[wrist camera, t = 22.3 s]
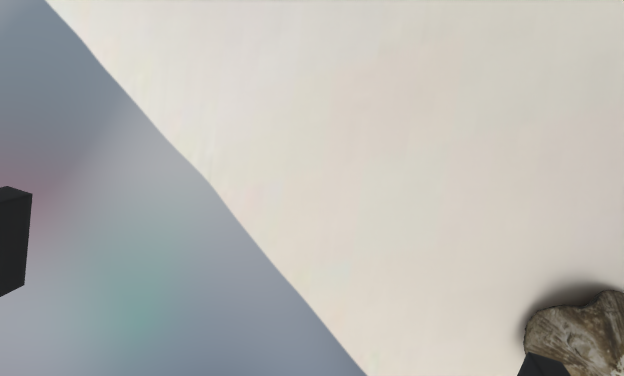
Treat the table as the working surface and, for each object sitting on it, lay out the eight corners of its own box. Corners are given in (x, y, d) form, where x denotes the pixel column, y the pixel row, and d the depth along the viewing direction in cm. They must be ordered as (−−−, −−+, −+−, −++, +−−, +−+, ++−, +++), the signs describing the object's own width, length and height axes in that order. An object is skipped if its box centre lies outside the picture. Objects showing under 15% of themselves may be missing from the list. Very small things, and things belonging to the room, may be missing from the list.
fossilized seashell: (529, 393, 35) (646, 381, 35) (570, 404, 29) (713, 390, 28) (505, 303, 38) (614, 291, 37) (538, 295, 31) (669, 282, 31)
